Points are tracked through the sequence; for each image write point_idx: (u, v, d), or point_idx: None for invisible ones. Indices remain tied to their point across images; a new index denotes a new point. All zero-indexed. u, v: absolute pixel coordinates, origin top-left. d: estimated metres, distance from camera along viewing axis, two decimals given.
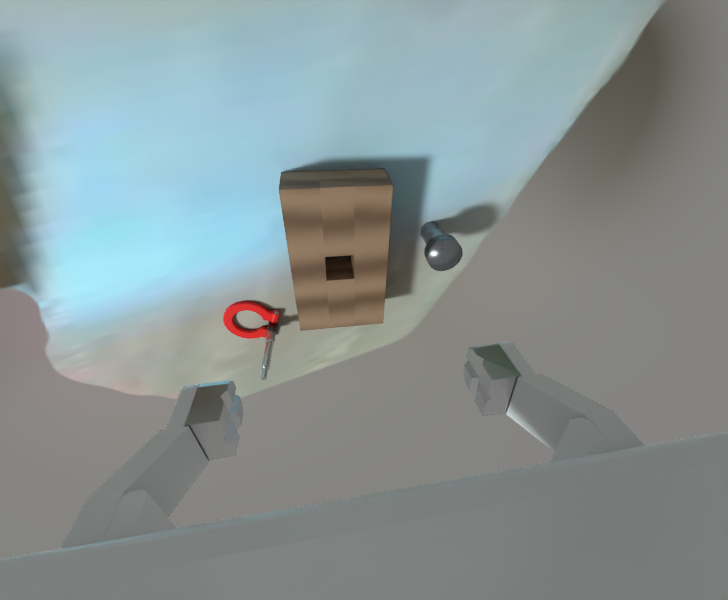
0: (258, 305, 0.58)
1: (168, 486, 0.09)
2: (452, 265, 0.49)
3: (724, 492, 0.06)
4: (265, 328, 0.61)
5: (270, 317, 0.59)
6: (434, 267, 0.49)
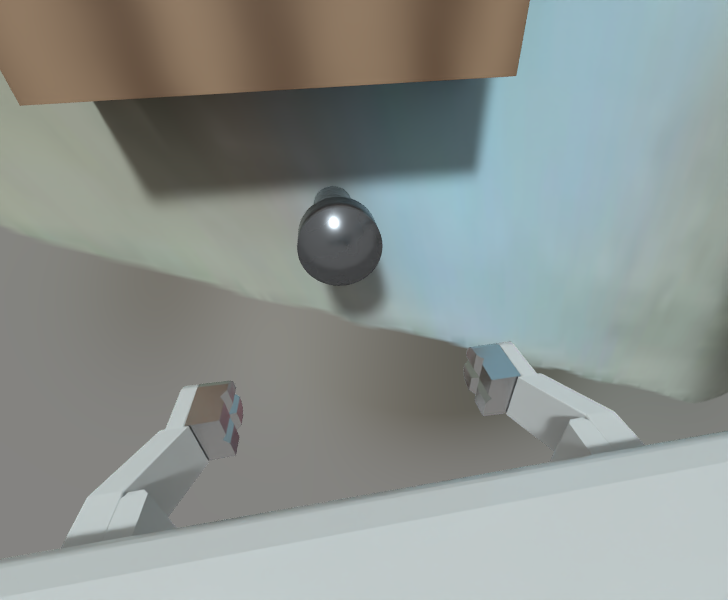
0: None
1: (168, 486, 0.09)
2: (315, 272, 0.20)
3: (724, 492, 0.06)
4: None
5: None
6: (307, 231, 0.19)
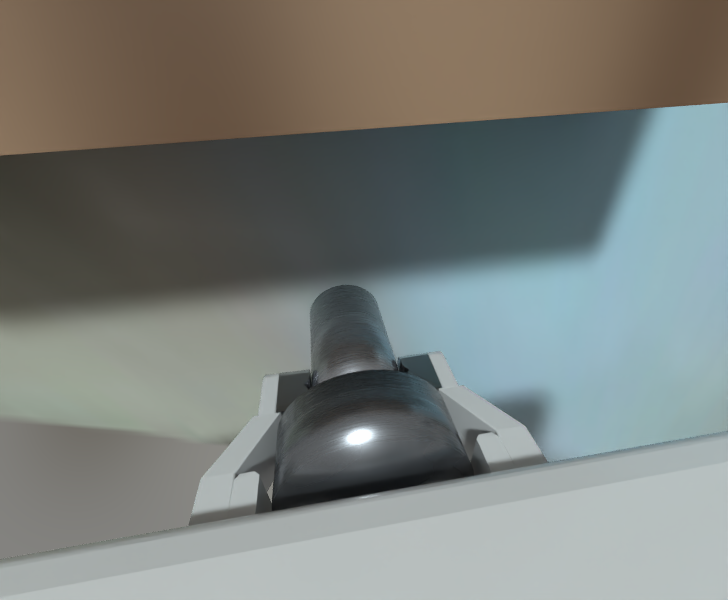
0: None
1: (263, 470, 0.09)
2: None
3: (724, 492, 0.06)
4: None
5: None
6: (294, 486, 0.07)
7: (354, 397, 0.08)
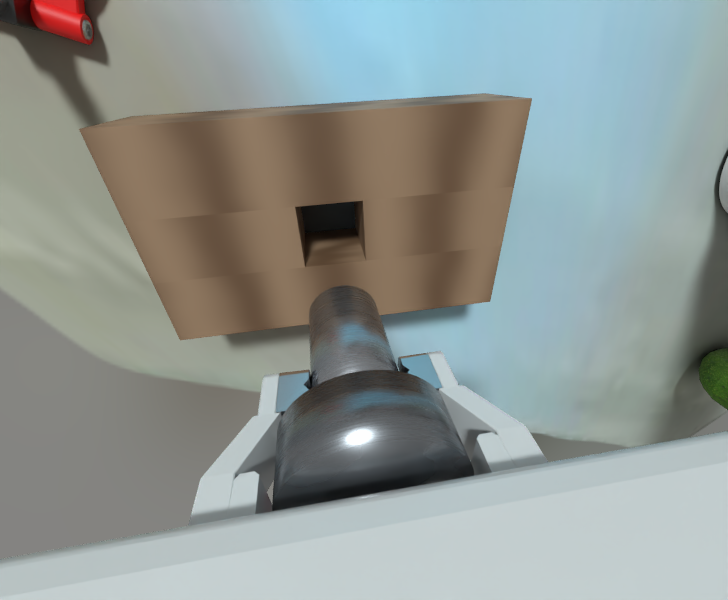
0: None
1: (263, 470, 0.09)
2: None
3: (724, 492, 0.06)
4: None
5: (55, 2, 0.17)
6: (295, 487, 0.07)
7: (354, 397, 0.08)
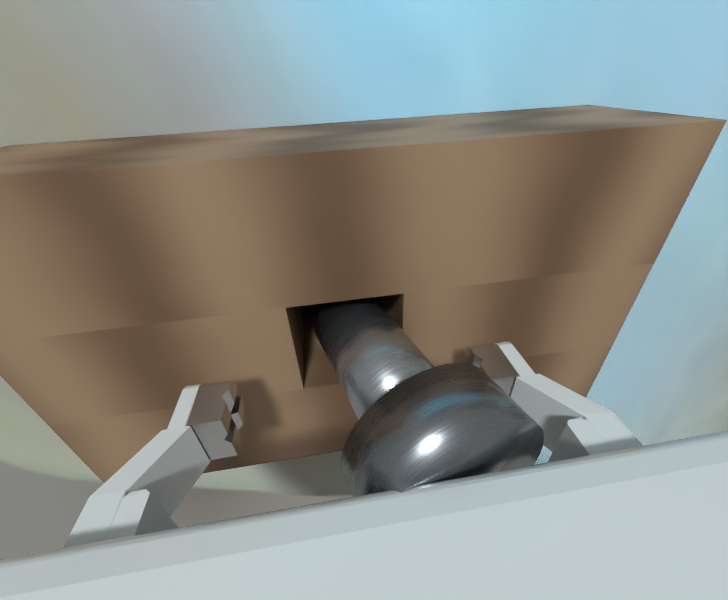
0: None
1: (170, 486, 0.09)
2: None
3: (724, 492, 0.06)
4: None
5: None
6: None
7: (436, 395, 0.08)
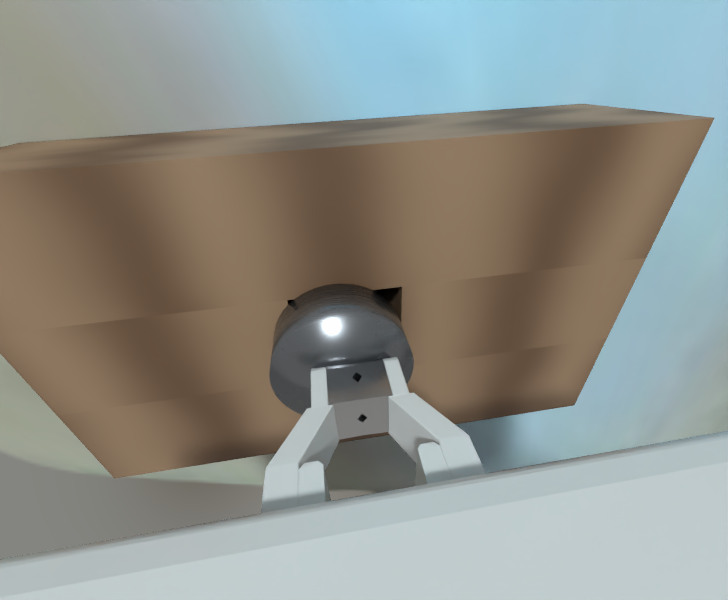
0: None
1: (318, 461, 0.09)
2: (300, 406, 0.12)
3: (724, 492, 0.06)
4: None
5: None
6: (286, 352, 0.11)
7: (329, 297, 0.11)
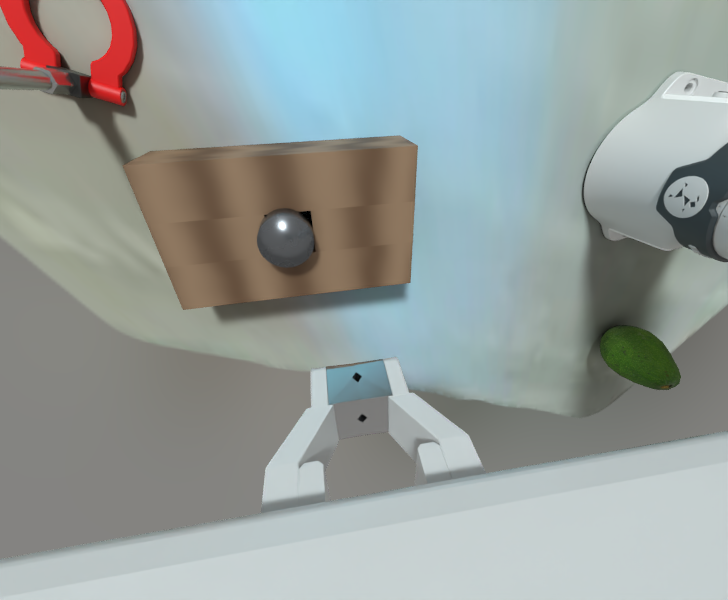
0: (133, 55, 0.27)
1: (318, 461, 0.09)
2: (269, 258, 0.30)
3: (724, 492, 0.06)
4: (57, 61, 0.26)
5: (104, 81, 0.27)
6: (263, 230, 0.29)
7: (279, 211, 0.29)
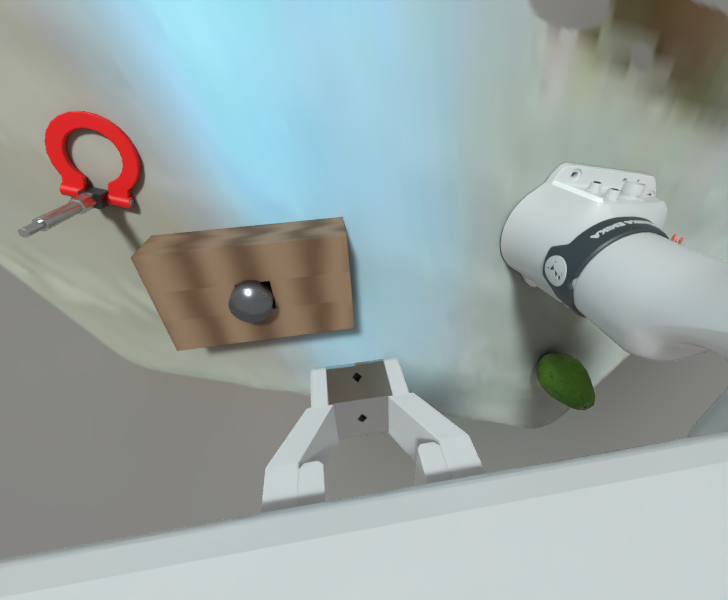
0: (137, 176, 0.37)
1: (318, 461, 0.09)
2: (239, 316, 0.41)
3: (724, 492, 0.06)
4: (85, 183, 0.37)
5: (117, 194, 0.37)
6: (232, 298, 0.39)
7: (245, 283, 0.40)
